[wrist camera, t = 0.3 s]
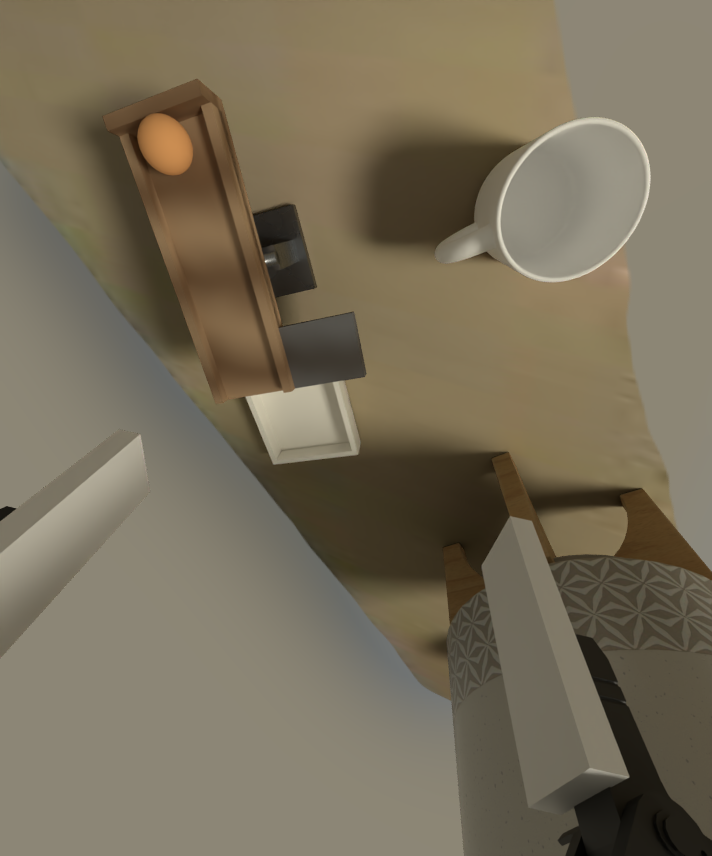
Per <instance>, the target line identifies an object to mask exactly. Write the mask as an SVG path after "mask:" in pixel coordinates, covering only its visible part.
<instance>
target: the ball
mask: <svg viewBox="0 0 712 856" xmlns="http://www.w3.org/2000/svg"><path fill="white" fill-rule="evenodd" d="M137 137H138V144H139V147H140V150H141V152H142V154H143V156H144V158H145V159H146V160H147V162H148V163H149V164H150V165H151V166H152V167H153V168H155V169H156V170H157V171H159V172H161V173H163V174H166V175H172V176H174V175H180V174H182V173H184V172H185V171H186V170H187V169H188V168H189V167H190V165H191V163H192V159H193V147H192V143H191V140H190V137H189V135H188V133H187V132H186V130H185V129H184V128H183V126H182V125H181V124H180V123H179V122H178V121H176V120H175V119H174V118H172V117H170V116H168V115H166V114H162V113H154V114H150V115H148V116H146V117H145V118H144V119H143V120H142V121H141V123H140V125H139V128H138V134H137Z"/></svg>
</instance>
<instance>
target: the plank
mask: <svg viewBox="0 0 712 856" xmlns="http://www.w3.org/2000/svg"><path fill="white" fill-rule="evenodd" d="M154 113H162V114H166V115H168V116H170V117H172V118H174V119H175V120H176V121H178V122H179V123H180V124H181V125H182V126H183V128H184V129H185V130H186V132H187V133H188V135H189V137H190V140H191V143H192V147H193V159H192V163H191V165H190V167H189V168H188V169H187V170H186V171H185V172H184V173H182V174H180V175H174V176H172V175H166V174H163V173H161V172H159V171H157V170H156V169H155V168H153V167H152V166H151V165H150V164H149V163H148V162H147V160H146V159H145V158H144V156H143V154H142V152H141V150H140V147H139V144H138V137H137V134H138V128H139V125H140V123H141V121H142V120H143V119H144V118H145V117H146V116H148V115H150V114H154ZM102 117H103V120H104V122H105V125H106V128H107V131H108V132H111V133H113V134H115V135H117V136H119V137H120V140H121V143H122V145H123V148H124V151H125V154H126V156H127V159H128V162H129V165H130V168H131V170H132V173H133V176H134V179H135V181H136V184H137V187H138V190H139V192H140V195H141V198H142V201H143V204H144V206H145V209H146V212H147V215H148V217H149V220H150V223H151V226H152V228H153V231H154V234H155V237H156V240H157V242H158V245H159V248H160V251H161V253H162V256H163V259H164V262H165V264H166V267H167V270H168V273H169V276H170V278H171V281H172V284H173V287H174V289H175V292H176V295H177V298H178V300H179V303H180V306H181V309H182V312H183V314H184V317H185V320H186V323H187V325H188V328H189V331H190V334H191V336H192V339H193V342H194V345H195V348H196V350H197V353H198V356H199V359H200V361H201V364H202V367H203V370H204V372H205V375H206V378H207V381H208V384H209V386H210V389H211V392H212V395H213V397H214V400H215V403H216V404H219V403H224V402H225V401H227V400H229V399H235V398H241V397H247V396H253V395H259V394H265V393H271V392H277V391H283V392H284V393H287V392H292V391H293V390H294V389H295V388H301V387H307V386H313V385H319V384H325V383H331V382H337V381H343V380H349V379H355V378H361V377H365V376H366V369H365V364H364V359H363V354H362V349H361V344H360V339H359V334H358V329H357V324H356V319H355V314H354V312H350V313H345V314H340V315H335V316H330V317H326V318H321V319H316V320H311V321H306V322H302V323H297V324H292V325H287V326H283V325H282V322H281V318H280V314H279V311H278V307H277V303H276V300H275V296H274V292H273V289H272V285H271V281H270V277H269V274H268V270H267V266H266V263H265V259H264V255H263V252H262V248H261V244H260V241H259V237H258V233H257V230H256V226H255V222H254V218H253V215H252V211H251V207H250V204H249V200H248V196H247V193H246V189H245V185H244V182H243V178H242V174H241V171H240V167H239V163H238V159H237V156H236V152H235V148H234V145H233V141H232V137H231V134H230V130H229V126H228V123H227V119H226V115H225V112H224V108H223V104H222V100H221V99H220V98H219V97H218V96H217V95H215V94H214V93H213V92H212V91H211V90H210V89H209V88H207V87H206V86H205V85H204V84H203V83H202V82H201V81H199V80H198V79H195V80H193V81H190V82H188V83H185V84H182V85H180V86H177V87H175V88H172V89H170V90H167V91H165V92H162V93H160V94H157V95H155V96H152V97H150V98H147V99H145V100H142V101H139V102H137V103H134V104H132V105H129V106H127V107H124V108H122V109H119V110H117V111H114V112H112V113H109V114H107V115H104V116H102Z"/></svg>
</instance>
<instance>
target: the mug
mask: <svg viewBox="0 0 712 856" xmlns="http://www.w3.org/2000/svg"><path fill="white" fill-rule="evenodd" d="M649 188H650V166H649V161H648V157H647V153H646V151H645V149H644V147H643V144H642V143H641V142H640V140H639V139H638V137H637V136H636V135H635V134H634V133H633V132H632V131H631V130H630V129H629V128H627V127H626V126H624V125H623V124H621V123H619V122H616V121H614V120H611V119H607V118H601V117H587V118H580V119H576V120H572V121H569V122H566V123H564V124H561V125H559V126H557V127H555V128H553V129H552V130H550V131H548V132H546V133H545V134H543V135H541V136H540V137H538V138H536V139H534V140H533V141H531V142H529V143H527V144H526V145H524V146H522V147H520V148H519V149H517V150H515V151H513V152H512V153H510V154H509V155H508V156H506V157H505V158H503V159H502V160H501V161H500V162H499V163H498V164H497V165H496V166H495V167H494V168H493V170H492V171H491V172H490V173H489V175H488V176H487V178H486V179H485V181H484V183H483V184H482V186H481V189H480V191H479V193H478V197H477V200H476V205H475V212H474V223H473V224H471V225H469V226H467V227H465V228H463V229H461V230H460V231H458V232H456V233H454V234H453V235H451V236H449V237H448V238H446V239H445V240H444V241H442V242H441V243H440V244H439V245H438V246H437V247H436V249H435V258H436V260H437V261H439V262H440V263H445V264H447V263H453V262H457V261H461V260H464V259H467V258H470V257H473V256H476V255H479V254H481V253H484V252H488V253H489V254H490V255H491V256H492V257H493V258H495V259H496V260H498V261H500V262H502V263H503V264H505V265H507V266H508V267H510V268H512V269H514V270H515V271H517V272H519V273H520V274H522V275H524V276H526V277H528V278H530V279H533V280H537V281H541V282H562V281H567V280H571V279H574V278H578V277H580V276H583V275H585V274H587V273H589V272H591V271H593V270H594V269H596V268H598V267H599V266H601V265H602V264H603V263H605V262H606V261H607V260H609V259H610V258H611V257H612V256H613V255H614V254H615V253H616V252H617V251H618V250H619V249H620V248H621V247H622V246H623V245H624V244H625V242H626V241H627V240H628V239H629V237H630V236H631V234H632V233H633V231H634V230H635V228H636V226H637V224H638V222H639V220H640V219H641V216H642V214H643V211H644V209H645V206H646V203H647V199H648V195H649Z"/></svg>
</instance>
